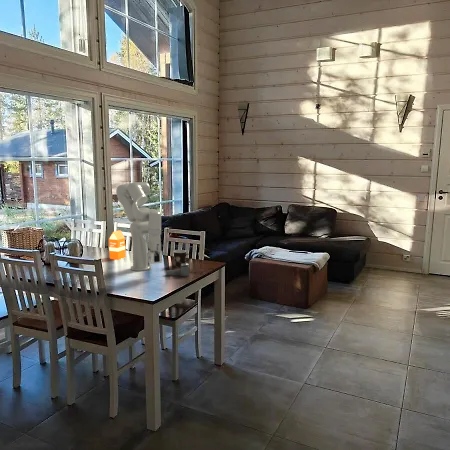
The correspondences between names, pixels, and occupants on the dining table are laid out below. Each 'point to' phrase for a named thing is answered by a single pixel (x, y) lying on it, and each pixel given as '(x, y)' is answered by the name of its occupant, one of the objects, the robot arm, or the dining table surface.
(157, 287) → the dining table surface
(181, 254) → the coffee mug
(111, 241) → the orange juice
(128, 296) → the dining table surface
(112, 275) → the dining table surface
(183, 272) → the coupler
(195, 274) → the dining table surface
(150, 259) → the lock
